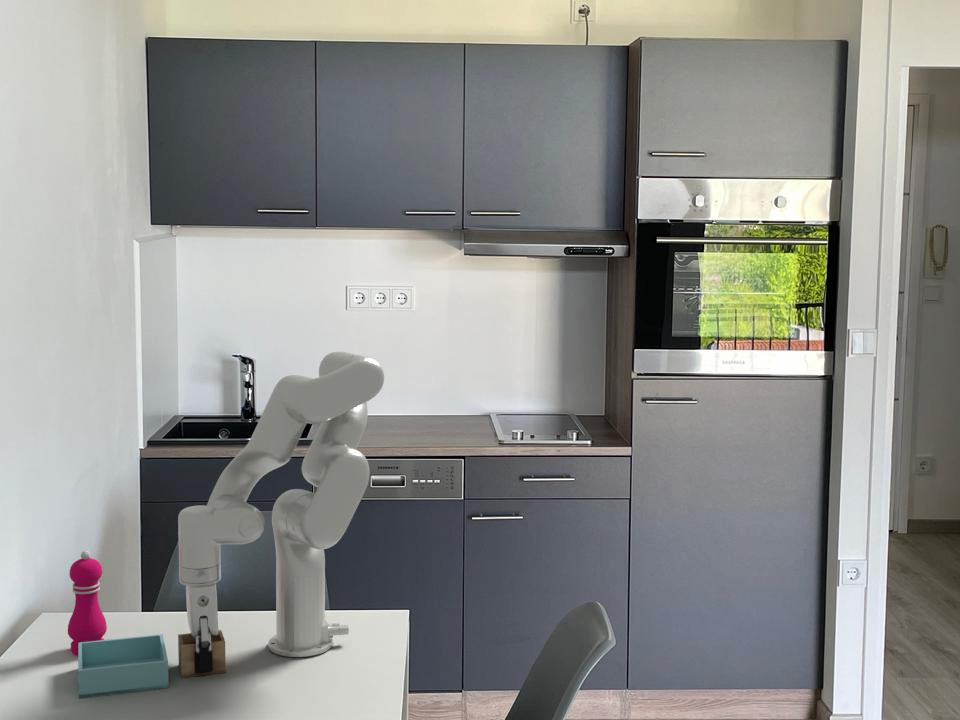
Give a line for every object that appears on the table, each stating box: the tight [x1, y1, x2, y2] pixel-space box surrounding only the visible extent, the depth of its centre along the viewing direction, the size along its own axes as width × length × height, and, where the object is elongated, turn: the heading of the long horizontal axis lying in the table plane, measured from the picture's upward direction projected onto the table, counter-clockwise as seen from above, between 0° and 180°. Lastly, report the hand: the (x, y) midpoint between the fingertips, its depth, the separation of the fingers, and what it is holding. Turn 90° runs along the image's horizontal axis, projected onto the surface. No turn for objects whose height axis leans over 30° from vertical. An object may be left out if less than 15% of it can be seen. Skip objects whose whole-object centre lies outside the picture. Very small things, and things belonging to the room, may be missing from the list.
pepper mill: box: [67, 550, 108, 657], centre depth 217 cm, size 7×7×20 cm
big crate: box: [77, 633, 169, 699], centre depth 205 cm, size 15×14×5 cm
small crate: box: [177, 629, 227, 679], centre depth 210 cm, size 8×6×6 cm
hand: (201, 664), depth 210 cm, fingers closed on small crate, 6 cm apart
